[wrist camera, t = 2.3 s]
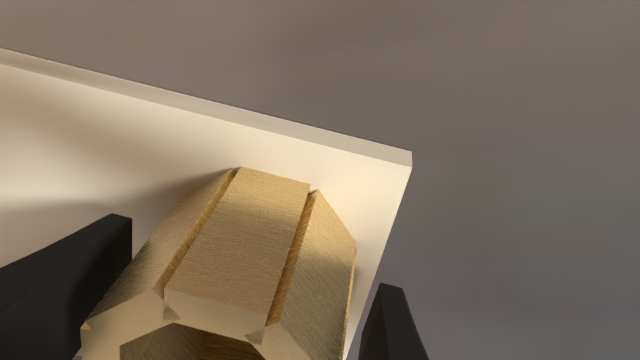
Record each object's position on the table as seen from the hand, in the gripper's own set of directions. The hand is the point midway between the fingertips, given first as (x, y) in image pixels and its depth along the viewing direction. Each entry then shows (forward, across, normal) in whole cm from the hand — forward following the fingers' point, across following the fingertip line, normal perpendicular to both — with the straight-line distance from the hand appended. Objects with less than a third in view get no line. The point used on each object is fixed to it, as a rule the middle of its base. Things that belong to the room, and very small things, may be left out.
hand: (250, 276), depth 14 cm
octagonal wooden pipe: (+1, 0, 0) cm, 1 cm away
